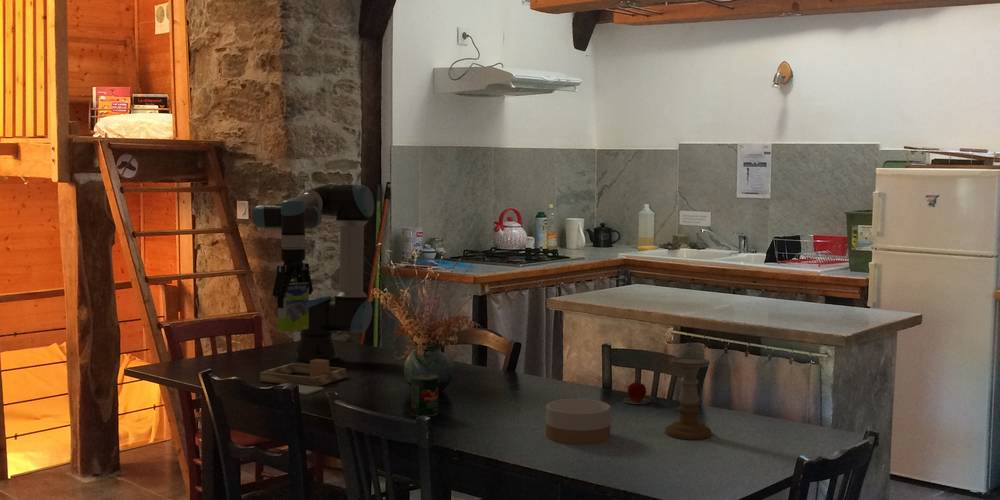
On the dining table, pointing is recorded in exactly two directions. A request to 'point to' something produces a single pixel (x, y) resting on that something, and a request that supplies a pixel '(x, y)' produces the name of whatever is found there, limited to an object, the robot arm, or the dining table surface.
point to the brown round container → (578, 421)
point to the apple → (636, 393)
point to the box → (296, 307)
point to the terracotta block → (319, 367)
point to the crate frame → (281, 376)
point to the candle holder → (688, 401)
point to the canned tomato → (424, 394)
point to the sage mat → (306, 389)
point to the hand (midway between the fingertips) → (293, 316)
